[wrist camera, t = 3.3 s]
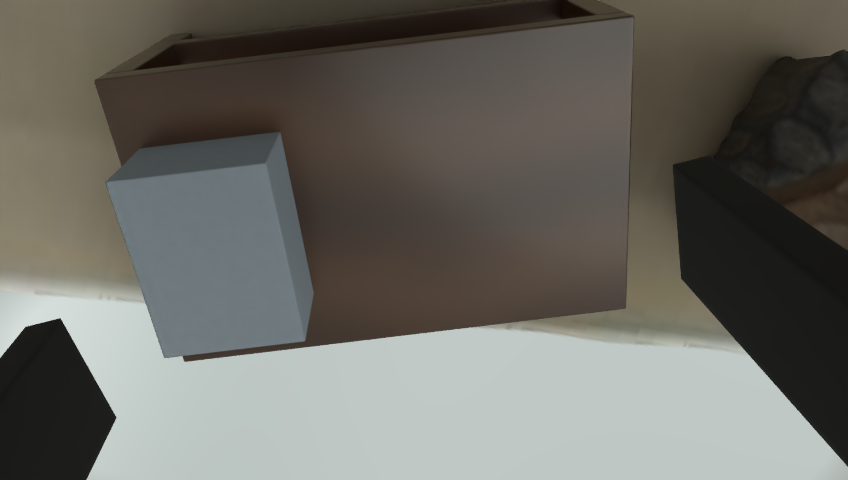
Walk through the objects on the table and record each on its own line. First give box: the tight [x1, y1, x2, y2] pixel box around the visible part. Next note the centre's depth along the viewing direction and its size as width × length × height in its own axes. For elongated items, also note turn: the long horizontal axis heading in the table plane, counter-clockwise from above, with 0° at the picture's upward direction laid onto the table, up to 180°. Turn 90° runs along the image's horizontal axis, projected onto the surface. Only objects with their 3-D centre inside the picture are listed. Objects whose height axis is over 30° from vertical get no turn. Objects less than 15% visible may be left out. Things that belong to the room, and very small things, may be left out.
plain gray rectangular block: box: [106, 132, 314, 358], centre depth 29 cm, size 8×6×4 cm
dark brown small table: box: [95, 0, 634, 362], centre depth 35 cm, size 14×22×11 cm, turn 96°
